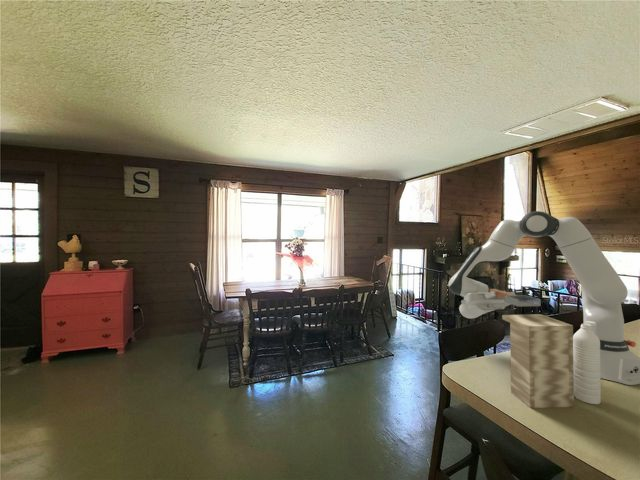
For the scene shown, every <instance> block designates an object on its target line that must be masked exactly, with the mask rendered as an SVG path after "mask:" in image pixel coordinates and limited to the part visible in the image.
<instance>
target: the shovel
mask: <svg viewBox="0 0 640 480" xmlns="http://www.w3.org/2000/svg"><path fill="white" fill-rule="evenodd" d="M492 291H497V293H498V295H497V297H500V298H503V299H504V302H507V303H509V304H511V306H512V305H513V306H516V307H541V304H542V303H541V300H542V299H540V298H537V297H533V296H529V295H526V294H522V295H521V294H519V295H517V294H515V295H514V294H511V293H507V292H508V291H506V292H504V291H505V290H500V289H497V288H490V292H492Z"/></svg>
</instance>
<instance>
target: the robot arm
mask: <svg viewBox="0 0 640 480" xmlns="http://www.w3.org/2000/svg"><path fill="white" fill-rule="evenodd" d="M545 236H548V237H550V238H551V239H552V240H553V241H554V242H555V243H556V245H557V247H558V249H559V250H560V252H561V254H562V256H563V257H564V258H565V261H566V262H567V264H568V266H569V267H570V269H571V271H572V273H573V274H574V275H575V277H576V279H577V280H578V282H579V284H580V285H581V286H580V287H581V303H582V313H583V314H582V316H583V320H582V321H583V324H586V321H592V322H596V326H591V330H592V331H593V332H594V333H595V335H596V336H597V337H598V338H599V340H600V379H604V380H608V381H612V382H617V383H620V384H624V385H627V386H635V385H640V356H639V355H637V354H636V353H635V352H633V350H632V351H631V350H630V347H632V348H635V347H636V346H637V343H636V342H635V341H632V340H629V339H628V340H626V339H625V319H624V314H623V309H622V303H623V302H625V300H626V299H627V297H628V293H629V291H628V287H627V286H626V285H625V283H624V281H623V280H622V278H621V277H620V276H619V274H618V272H617V271H616V270H615V268H614V267H613V266H612V264H611V263H610V261H609V260H608V258H606V256H605V254H604V253H603V251H602V250H601V248H600V247H599V245H598V243H597V242H596V240H595V238H594V237H593V236H592V233H590V231H589V230H588V228H587V227H586V226H585V225H584V224H583V223H582V222H581V221H580V220H579V219H578V218H577V217H574V216H565V217H562V218H561V217H560V218H556V217H555V216H552V215H550V214H549V213H547V212H545V211H538V210H535V211H530V212H528V213H527V214H525V215H524V216H523V217H522V218H521V220H519V221H516V220H512V219H504V220H502V221H499V223H498V224H497V226H496V227H495V228H494V229H493V231H492V233H491V235H490V236H489V238H488V240H486V242H485V243H484V244H483V245H481V246H477V247H475V248H474V249H473V250H472V251H471V253H470V254H469V255H468V256H467V257H466V259H465V260H464V262H463V263H462V264H461V266H460V267H459V268H458V269H457V271H456V272H455V273H454V274H453V275H452V276H451V278H450V279H449V281H448V283H447V287H448V289H449V291H450V292H451V293H452V294H454V295H456V296H460V297H461V296H462V297H463V299H462V300H461V301H460V302H461V304H460V305H459V307H458V309H459V312H460V314H461V315H462V316H463V317H464V318H466V319H476V318H478V317H480V316H482V315H484V314H487V313H490V312H492V311H493V312H494V311H499V310H505V309H506V307H509V306H510V305H511V306H512V304H509V303H507V302H504V299H503V298H500V297H497V295H498V293H497V291H492V292H490V289H491V288H490V286H489V285H488V284H486V283H483V282H481V281H478V280H475V279H473V278H469V277H468V275H469V273H470V272H471V271H472V270H473V269H474V267H475V266H476V265H477V264H478V263H481V262H500V261H505V260H507V259H509V258H510V257H511V256H512V254H513V253H514V251H515V249H516V248H517V246H518V244H519V242H520V241H521V240H522V238H524V237H531V238H541V237H545ZM503 291H504V292H507V293H511V294H514V295H516V293H515V292H514V291H506V290H503ZM589 325H590V324H589Z"/></svg>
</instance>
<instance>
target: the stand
mask: <svg viewBox="0 0 640 480" xmlns="http://www.w3.org/2000/svg"><path fill="white" fill-rule="evenodd" d="M501 317H502V320H503V321H506V322H507V323H509V324H510V327H509V331H510V332H509V335H510V336H509V339H510V343H509V344H510V347H509V348H510V393H511V394H513V396H515V397H516V398H517V399H518V400H520V401H521V402H522V403H524V404H525V405H526V406H527V407H528V408H530V409H531V408H532V409H533V408H534V409H538V408H540V409H541V408H574V407H575V396H574V370H573V335H574V325H573V324H570V323H566V322H565V321H561V320H558V319H556V318H553V317H549V316H547V315H545V314H544V315H543V314H541V313H540V314H538V313H537V314H502V315H501Z"/></svg>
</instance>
